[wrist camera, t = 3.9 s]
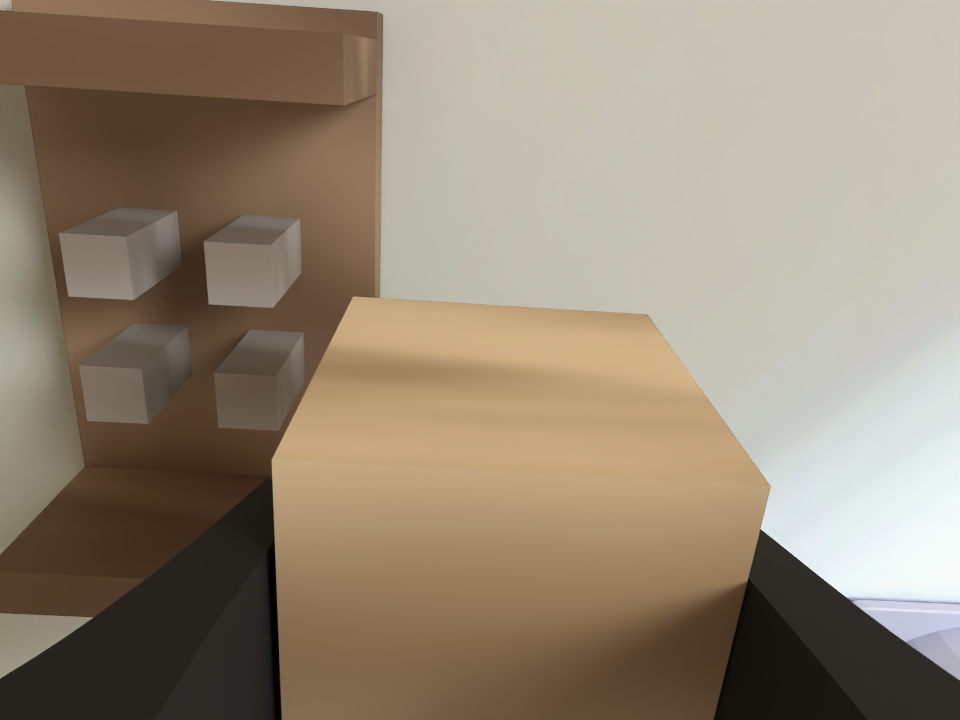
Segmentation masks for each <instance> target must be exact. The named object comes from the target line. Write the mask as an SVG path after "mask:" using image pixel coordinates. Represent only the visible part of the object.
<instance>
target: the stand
mask: <svg viewBox="0 0 960 720" xmlns="http://www.w3.org/2000/svg"><path fill="white" fill-rule="evenodd" d="M12 7H13V11H2V10H0V83H1V84H17V85H25V89H26V96H27V102H28V108H29V115H30V121H31V127H32V134H33V140H34V146H35V153H36V159H37V165H38V172H39V178H40V184H41V191H42V197H43V204H44V210H45V216H46V223H47V229H48V235H49V242H50V248H51V254H52V261H53V267H54V273H55V280H56V286H57V292H58V299H59V305H60V311H61V318H62V324H63V330H64V337H65V343H66V349H67V356H68V362H69V369H70V375H71V381H72V388H73V394H74V400H75V407H76V413H77V419H78V426H79V432H80V438H81V445H82V451H83V457H84V464H85V467H84V468H83V469H82V470H81V471H80V472H79V473H78V474H77V475H76V476H75V478H74V479H73V480H72V481H71V482H70V483H69V484H68V485H67V486H66V487H65V488H64V489H63V490H62V491H61V492H60V493H59V494H58V495H57V496H56V497H55V498H54V499H53V500H52V502H51V503H50V504H49V505H48V506H47V507H46V508H45V509H44V510H43V511H42V512H41V513H40V514H39V515H38V516H37V517H36V518H35V519H34V520H33V521H32V522H31V523H30V524H29V526H28V527H27V528H26V529H25V530H24V531H23V532H22V533H21V534H20V535H19V536H18V537H17V538H16V539H15V540H14V541H13V542H12V543H11V544H10V545H9V546H8V547H7V549H6V550H5V551H4V552H3V553H2V554H1V555H0V613H12V614H34V615H57V616H79V617H95V616H96V615H98V614H99V613H100V612H102V611H103V610H104V609H106V608H107V607H109V606H110V605H111V604H113V603H114V602H115V601H117V600H118V599H119V598H121V597H122V596H123V595H125V594H126V593H127V592H129V591H130V590H132V589H133V588H134V587H136V586H137V585H138V584H140V583H141V582H142V581H144V580H145V579H146V578H148V577H149V576H151V575H152V574H153V573H154V572H156V571H157V570H158V569H159V568H161V567H162V566H163V565H164V564H165V563H167V562H168V561H169V560H170V559H172V558H173V557H174V556H175V555H177V554H178V553H179V552H180V551H181V550H183V549H184V548H185V547H186V546H188V545H189V544H190V543H191V542H193V541H194V540H195V539H196V538H197V537H199V536H200V535H201V534H202V533H203V532H204V531H206V530H207V529H208V528H209V527H210V526H212V525H213V524H214V523H215V522H216V521H217V520H219V519H220V518H221V517H222V516H223V515H224V514H226V513H227V512H228V511H229V510H230V509H231V508H233V507H234V506H235V505H236V504H237V503H239V502H240V501H241V500H242V499H243V498H244V497H246V496H247V495H248V494H249V493H250V492H252V491H253V490H254V489H255V488H257V487H258V486H259V485H260V484H261V483H263V482H264V481H265V480H266V479H272V458H273V456H274V454H275V452H276V450H277V448H278V446H279V444H280V442H281V440H282V438H283V436H284V434H285V432H286V430H287V428H288V426H289V424H290V422H291V420H292V418H293V416H294V414H295V412H296V410H297V408H298V406H299V404H300V402H301V400H302V398H303V396H304V394H305V392H306V390H307V388H308V386H309V384H310V382H311V380H312V378H313V376H314V374H315V372H316V370H317V368H318V366H319V364H320V362H321V360H322V358H323V356H324V354H325V352H326V350H327V348H328V346H329V344H330V342H331V340H332V338H333V336H334V334H335V332H336V330H337V328H338V326H339V324H340V322H341V320H342V318H343V316H344V314H345V312H346V310H347V308H348V306H349V304H350V302H351V300H352V298H353V297H369V298H380V230H381V144H382V58H383V15H382V14H380V13H378V12H371V11H357V10H342V9H327V8H312V7H298V6H283V5H268V4H254V3H239V2H224V1H210V0H12Z"/></svg>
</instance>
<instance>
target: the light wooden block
mask: <svg viewBox="0 0 960 720" xmlns="http://www.w3.org/2000/svg"><path fill="white" fill-rule="evenodd" d="M272 483H273V508H274V533H275V559H276V584H277V610H278V635H279V661H280V686H281V711H282V720H714V716H715V712H716V708H717V704H718V700H719V696H720V692H721V687H722V683H723V679H724V675H725V671H726V667H727V663H728V659H729V655H730V651H731V647H732V643H733V638H734V634H735V630H736V626H737V622H738V618H739V614H740V610H741V606H742V602H743V598H744V594H745V590H746V585H747V581H748V577H749V573H750V569H751V565H752V561H753V557H754V553H755V549H756V545H757V541H758V536H759V532H760V528H761V524H762V520H763V516H764V512H765V508H766V504H767V500H768V496H769V492H770V488H771V486H770V484H769V483H768V482H767V480H766V479H765V477H764V476H763V475H762V473H761V472H760V471H759V469H758V468H757V466H756V465H755V464H754V462H753V461H752V459H751V458H750V457H749V455H748V454H747V452H746V451H745V450H744V448H743V447H742V445H741V444H740V443H739V441H738V440H737V438H736V437H735V436H734V434H733V433H732V431H731V430H730V429H729V427H728V426H727V425H726V423H725V422H724V420H723V419H722V418H721V416H720V415H719V413H718V412H717V411H716V409H715V408H714V406H713V405H712V404H711V402H710V401H709V399H708V398H707V397H706V395H705V394H704V392H703V391H702V390H701V388H700V387H699V385H698V384H697V383H696V381H695V380H694V378H693V377H692V376H691V374H690V373H689V372H688V370H687V369H686V367H685V366H684V365H683V363H682V362H681V360H680V359H679V358H678V356H677V355H676V353H675V352H674V351H673V349H672V348H671V346H670V345H669V344H668V342H667V341H666V339H665V338H664V337H663V335H662V334H661V332H660V331H659V330H658V328H657V327H656V325H655V324H654V323H653V321H652V320H651V319H650V317H649V316H648V315H646V314H630V313H613V312H597V311H581V310H565V309H548V308H532V307H516V306H499V305H483V304H467V303H451V302H434V301H418V300H402V299H386V298H369V297H353V298H352V300H351V302H350V304H349V306H348V308H347V310H346V312H345V314H344V316H343V318H342V320H341V322H340V324H339V326H338V328H337V330H336V332H335V334H334V336H333V338H332V340H331V342H330V344H329V346H328V348H327V350H326V352H325V354H324V356H323V358H322V360H321V362H320V364H319V366H318V368H317V370H316V372H315V374H314V376H313V378H312V380H311V382H310V384H309V386H308V388H307V390H306V392H305V394H304V396H303V398H302V400H301V402H300V404H299V406H298V408H297V410H296V412H295V414H294V416H293V418H292V420H291V422H290V424H289V426H288V428H287V430H286V432H285V434H284V436H283V438H282V440H281V442H280V444H279V446H278V448H277V450H276V452H275V454H274V456H273V458H272Z"/></svg>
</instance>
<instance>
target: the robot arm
mask: <svg viewBox="0 0 960 720" xmlns="http://www.w3.org/2000/svg"><path fill="white" fill-rule="evenodd" d="M0 720H282V711H281V686H280V661H279V635H278V610H277V584H276V559H275V533H274V508H273V483H272V479H266V480H265V481H264V482H263V483H261V484H260V485H259V486H258V487H257V488H255V489H254V490H253V491H252V492H250V493H249V494H248V495H247V496H246V497H244V498H243V499H242V500H241V501H240V502H239V503H237V504H236V505H235V506H234V507H233V508H231V509H230V510H229V511H228V512H227V513H226V514H224V515H223V516H222V517H221V518H220V519H219V520H217V521H216V522H215V523H214V524H213V525H212V526H210V527H209V528H208V529H207V530H206V531H204V532H203V533H202V534H201V535H200V536H199V537H197V538H196V539H195V540H194V541H193V542H191V543H190V544H189V545H188V546H186V547H185V548H184V549H183V550H181V551H180V552H179V553H178V554H177V555H175V556H174V557H173V558H172V559H170V560H169V561H168V562H167V563H165V564H164V565H163V566H162V567H161V568H159V569H158V570H157V571H156V572H154V573H153V574H152V575H151V576H149V577H148V578H146V579H145V580H144V581H142V582H141V583H140V584H138V585H137V586H136V587H134V588H133V589H132V590H130V591H129V592H127V593H126V594H125V595H123V596H122V597H121V598H119V599H118V600H117V601H115V602H114V603H113V604H111V605H110V606H109V607H107V608H106V609H104V610H103V611H102V612H100V613H99V614H98V615H96V616H95V617H94V618H92V619H91V620H90V621H88V622H87V623H86V624H84V625H83V626H81V627H80V628H78V629H77V630H75V631H74V632H72V633H71V634H69V635H68V636H67V637H65V638H64V639H62V640H61V641H59V642H58V643H56V644H54V645H53V646H51V647H50V648H48V649H47V650H45V651H44V652H42V653H41V654H39V655H38V656H36V657H35V658H33V659H31V660H30V661H28V662H27V663H25V664H23V665H22V666H20V667H18V668H17V669H15V670H14V671H12V672H10V673H9V674H7V675H6V676H4V677H2V678H1V679H0ZM714 720H960V604H941V603H920V602H898V601H876V600H855V601H852V602H851V601H850V600H849V599H847V598H846V597H845V596H844V595H842V594H841V593H840V592H838V591H837V590H836V589H835V588H833V587H832V586H831V585H830V584H828V583H827V582H826V581H824V580H823V579H822V578H821V577H819V576H818V575H817V574H816V573H814V572H813V571H812V570H811V569H809V568H808V567H807V566H806V565H804V564H803V563H802V562H801V561H799V560H798V559H797V558H796V557H794V556H793V555H792V554H791V553H790V552H788V551H787V550H786V549H785V548H783V547H782V546H781V545H780V544H778V543H777V542H776V541H775V540H773V539H772V538H771V537H770V536H768V535H767V534H766V533H765V532H763V531H762V530H761V529H760V532H759V536H758V541H757V545H756V549H755V553H754V557H753V561H752V565H751V569H750V573H749V577H748V581H747V585H746V590H745V594H744V598H743V602H742V606H741V610H740V614H739V618H738V622H737V626H736V630H735V634H734V638H733V643H732V647H731V651H730V655H729V659H728V663H727V667H726V671H725V675H724V679H723V683H722V687H721V692H720V696H719V700H718V704H717V708H716V712H715V716H714Z"/></svg>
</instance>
